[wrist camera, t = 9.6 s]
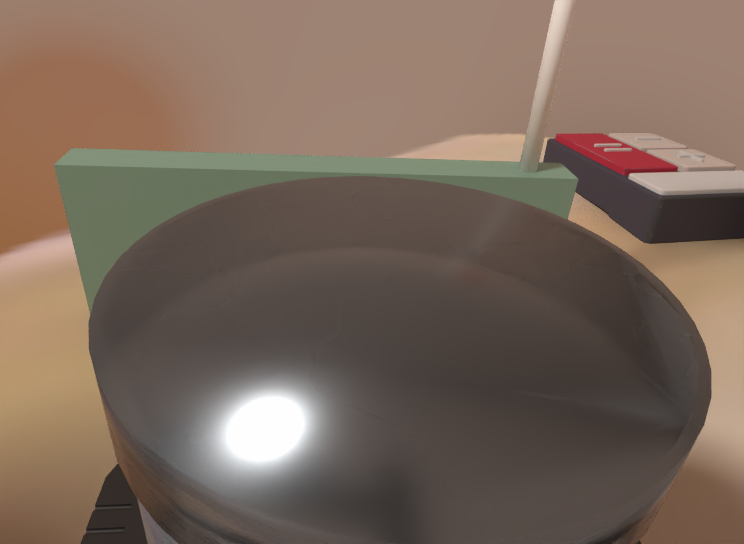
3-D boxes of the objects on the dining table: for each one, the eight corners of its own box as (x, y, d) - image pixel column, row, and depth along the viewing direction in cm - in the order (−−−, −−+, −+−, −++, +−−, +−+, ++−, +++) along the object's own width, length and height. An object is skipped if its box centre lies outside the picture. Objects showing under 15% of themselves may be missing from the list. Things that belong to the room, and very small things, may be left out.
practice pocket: (-12, 515, 18) (-460, -439, 7) (106, 302, 28) (-10, -220, 17) (711, 484, 20) (1127, -227, 10) (577, 301, 31) (717, -145, 20)
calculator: (654, 129, 51) (798, 182, 38) (641, 173, 53) (773, 239, 40) (547, 129, 48) (663, 187, 36) (538, 176, 50) (644, 247, 38)
